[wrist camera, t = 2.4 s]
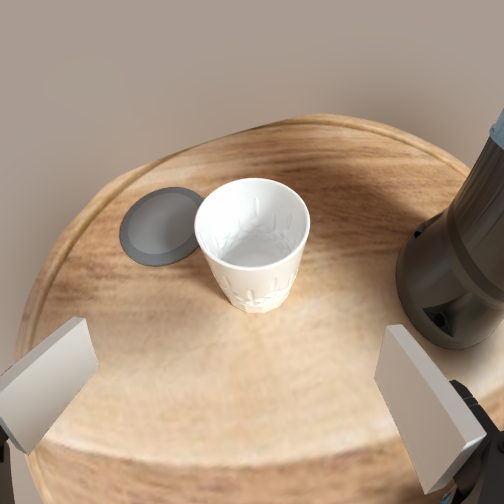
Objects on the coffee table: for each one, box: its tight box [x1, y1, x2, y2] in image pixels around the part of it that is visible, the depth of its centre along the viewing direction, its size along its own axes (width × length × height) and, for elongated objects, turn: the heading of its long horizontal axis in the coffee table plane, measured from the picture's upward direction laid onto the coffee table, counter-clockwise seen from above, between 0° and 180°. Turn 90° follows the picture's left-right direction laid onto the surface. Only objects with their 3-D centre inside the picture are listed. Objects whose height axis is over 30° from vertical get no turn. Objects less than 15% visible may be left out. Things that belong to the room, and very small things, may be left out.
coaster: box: [120, 187, 204, 266], centre depth 32 cm, size 11×11×1 cm
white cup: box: [194, 178, 310, 313], centre depth 23 cm, size 8×8×10 cm
